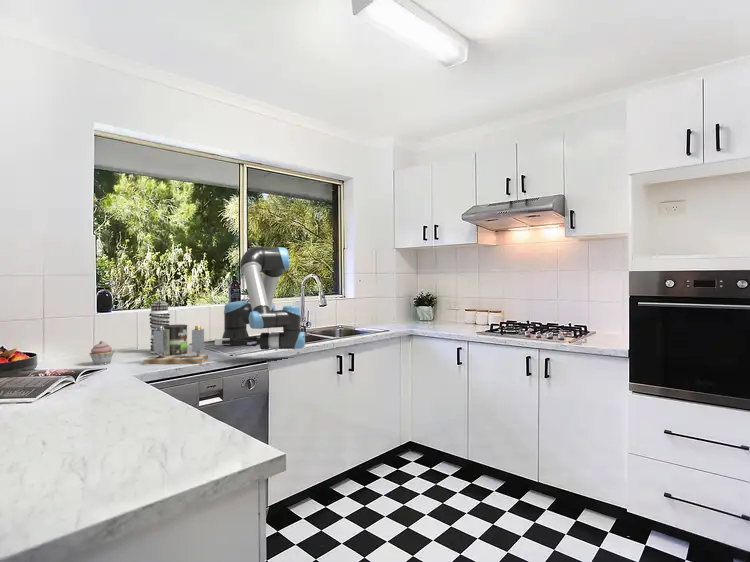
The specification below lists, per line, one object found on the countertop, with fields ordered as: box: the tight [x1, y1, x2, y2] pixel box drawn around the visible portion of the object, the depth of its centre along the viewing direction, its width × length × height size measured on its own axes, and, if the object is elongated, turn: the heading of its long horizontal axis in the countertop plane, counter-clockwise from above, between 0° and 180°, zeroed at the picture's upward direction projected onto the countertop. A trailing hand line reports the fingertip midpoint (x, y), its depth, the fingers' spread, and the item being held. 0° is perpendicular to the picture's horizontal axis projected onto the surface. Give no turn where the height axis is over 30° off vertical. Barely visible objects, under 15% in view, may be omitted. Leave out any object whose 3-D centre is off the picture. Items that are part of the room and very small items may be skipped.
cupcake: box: [88, 340, 115, 365], centre depth 192 cm, size 9×9×10 cm
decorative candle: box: [148, 300, 171, 354], centre depth 220 cm, size 9×9×25 cm
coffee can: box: [163, 324, 188, 356], centre depth 212 cm, size 10×10×14 cm
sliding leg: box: [191, 325, 205, 356], centre depth 195 cm, size 4×4×13 cm
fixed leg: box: [153, 326, 167, 358], centre depth 194 cm, size 4×4×14 cm
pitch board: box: [142, 354, 209, 365], centre depth 195 cm, size 24×10×2 cm, turn 96°
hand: (215, 341), depth 196 cm, fingers closed
